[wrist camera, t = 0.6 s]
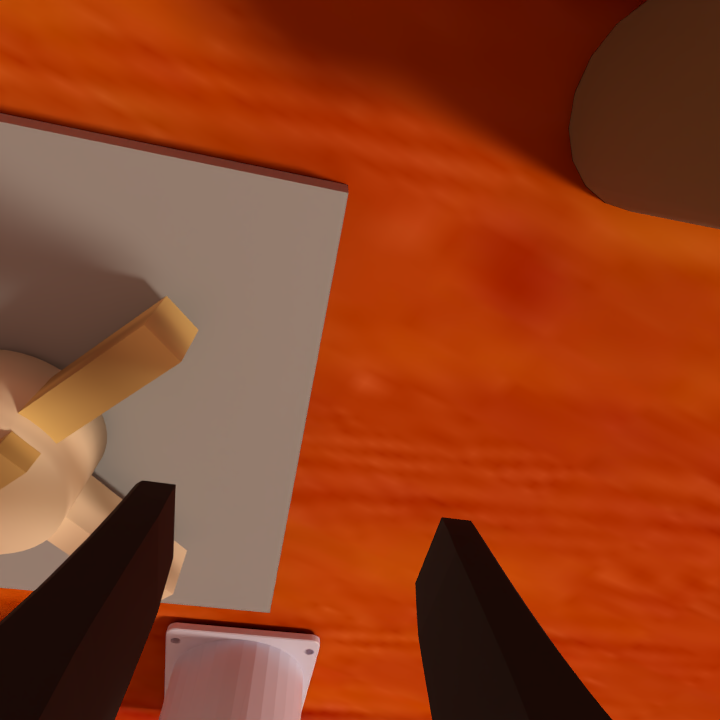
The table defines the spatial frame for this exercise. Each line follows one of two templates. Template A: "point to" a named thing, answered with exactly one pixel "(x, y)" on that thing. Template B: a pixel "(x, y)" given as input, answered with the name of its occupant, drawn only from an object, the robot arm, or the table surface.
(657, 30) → the cork
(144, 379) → the capstan
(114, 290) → the stand board
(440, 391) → the table surface
